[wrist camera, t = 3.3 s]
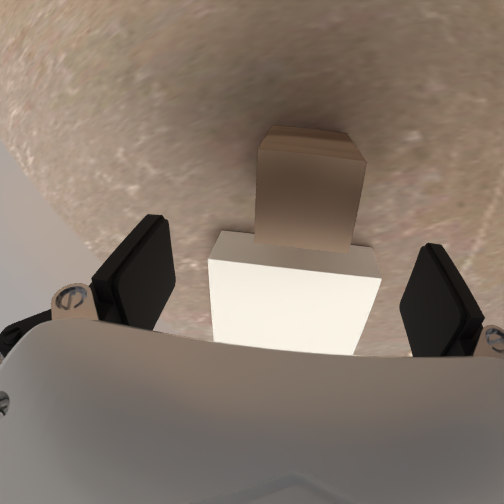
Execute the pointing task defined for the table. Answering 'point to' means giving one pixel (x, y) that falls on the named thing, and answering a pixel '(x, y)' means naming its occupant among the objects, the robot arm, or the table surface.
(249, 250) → the base
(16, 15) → the table surface
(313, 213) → the walnut block
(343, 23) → the table surface
